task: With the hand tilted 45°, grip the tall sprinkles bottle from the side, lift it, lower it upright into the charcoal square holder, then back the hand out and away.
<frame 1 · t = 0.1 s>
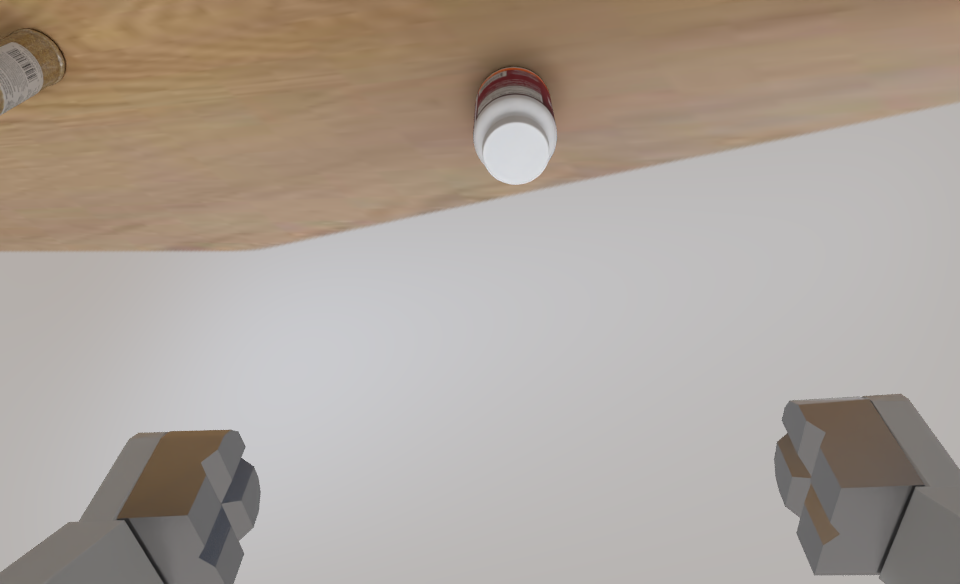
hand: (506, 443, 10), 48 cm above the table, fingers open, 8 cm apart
sprinkles bottle: (40, 56, 55), on the table
pill bottle: (513, 101, 56), on the table
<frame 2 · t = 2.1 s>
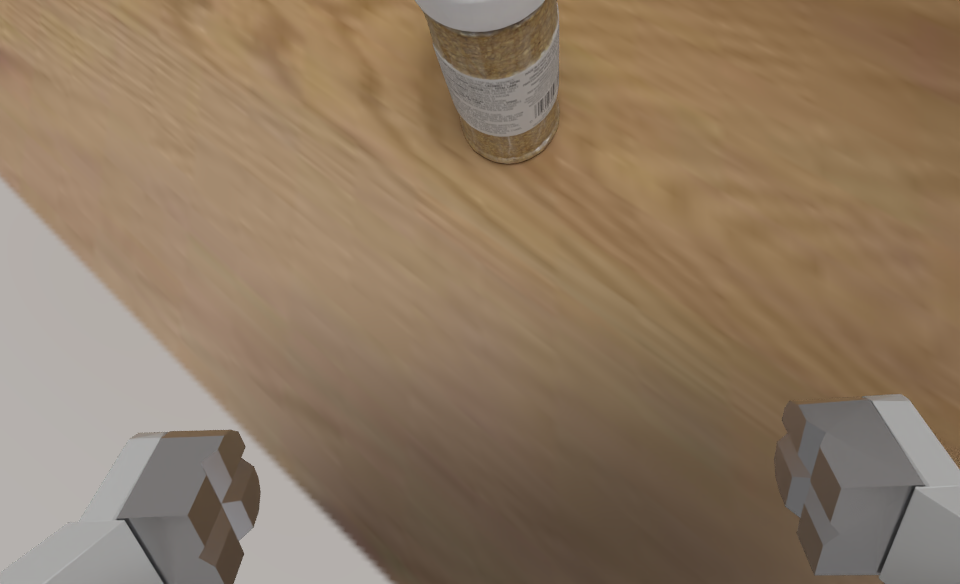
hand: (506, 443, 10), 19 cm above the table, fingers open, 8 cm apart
sprinkles bottle: (510, 121, 31), on the table
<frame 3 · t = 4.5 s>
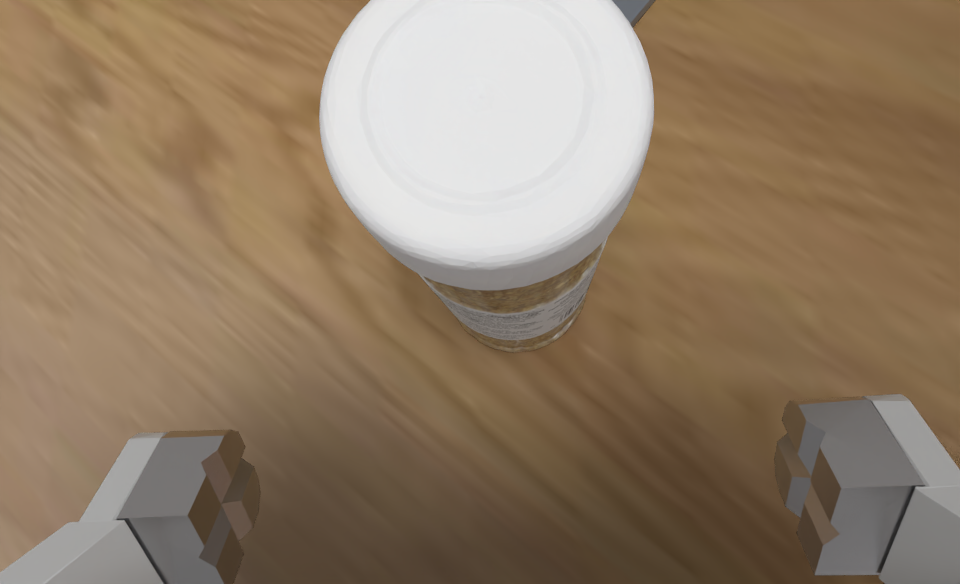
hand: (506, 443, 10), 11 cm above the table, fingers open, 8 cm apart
sprinkles bottle: (516, 286, 22), on the table
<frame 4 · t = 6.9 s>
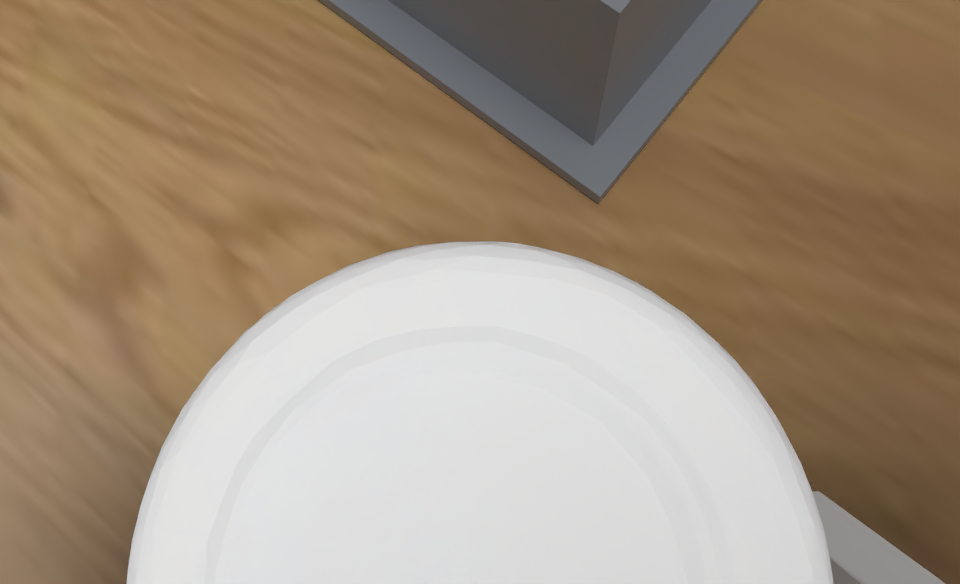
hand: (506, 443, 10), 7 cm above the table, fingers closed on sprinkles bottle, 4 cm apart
sprinkles bottle: (520, 457, 17), on the table, touching gripper
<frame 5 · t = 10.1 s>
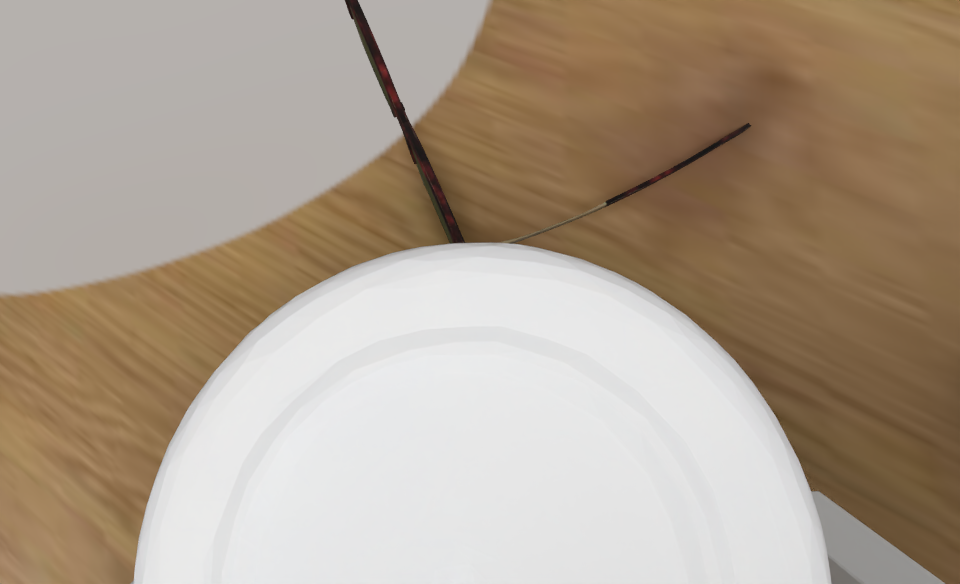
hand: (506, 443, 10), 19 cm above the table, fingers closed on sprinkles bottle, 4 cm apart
sprinkles bottle: (519, 456, 17), point 12 cm above the table, touching gripper
sunglasses: (550, 89, 32), on the table
when the fingers open (9 cm above the table, at t = 13.2 s): sprinkles bottle drops 1 cm, resting on square holder.
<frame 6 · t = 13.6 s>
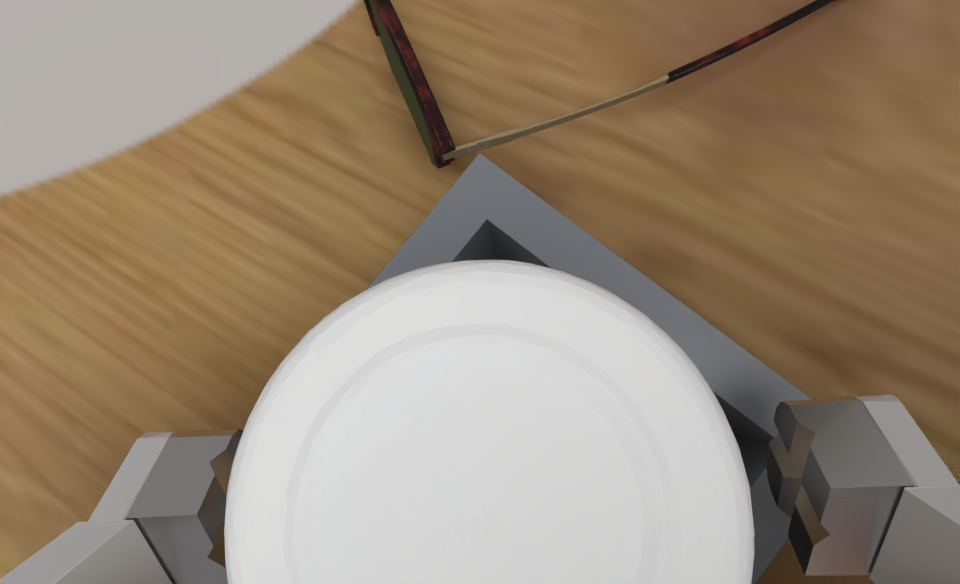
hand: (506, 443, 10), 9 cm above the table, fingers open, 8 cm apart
square holder: (522, 452, 19), on the table
sprinkles bottle: (523, 453, 19), resting on square holder
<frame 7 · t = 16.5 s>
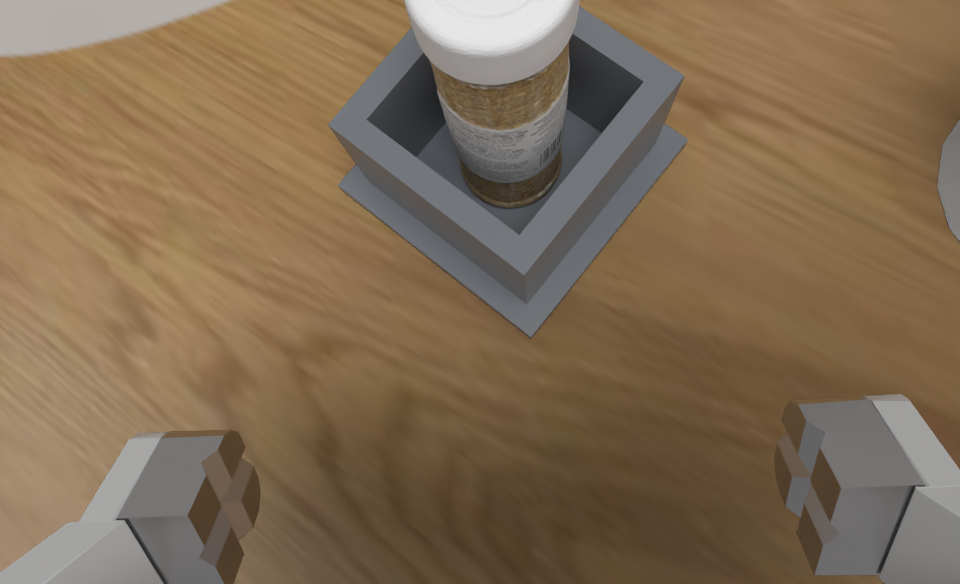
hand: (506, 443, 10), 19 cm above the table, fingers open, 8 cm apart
square holder: (510, 167, 31), on the table
sprinkles bottle: (511, 164, 30), resting on square holder
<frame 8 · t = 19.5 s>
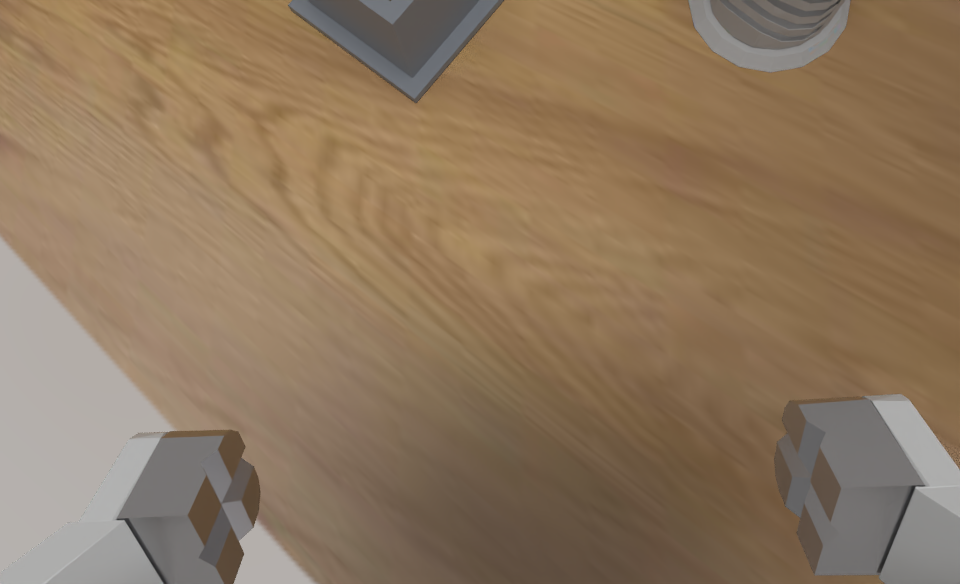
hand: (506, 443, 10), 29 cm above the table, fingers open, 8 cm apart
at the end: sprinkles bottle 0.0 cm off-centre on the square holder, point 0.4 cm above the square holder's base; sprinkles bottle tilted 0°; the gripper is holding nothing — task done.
